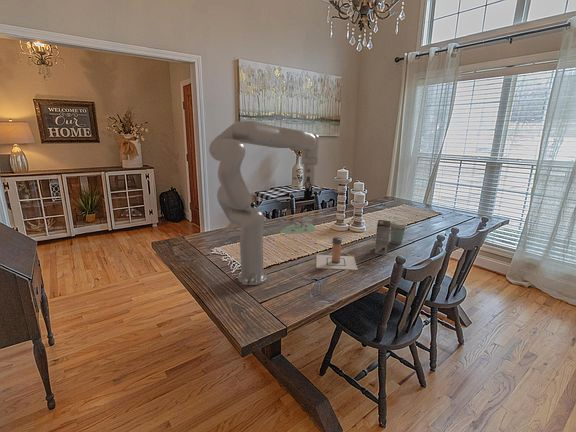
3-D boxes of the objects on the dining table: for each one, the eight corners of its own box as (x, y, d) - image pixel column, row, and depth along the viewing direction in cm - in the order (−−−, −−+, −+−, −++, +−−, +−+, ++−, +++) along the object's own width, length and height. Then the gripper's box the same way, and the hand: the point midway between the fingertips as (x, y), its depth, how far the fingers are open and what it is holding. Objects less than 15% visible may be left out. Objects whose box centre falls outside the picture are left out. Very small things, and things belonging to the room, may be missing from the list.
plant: (296, 238, 182) (297, 224, 180) (272, 230, 196) (272, 217, 193) (321, 229, 200) (322, 215, 197) (298, 222, 213) (298, 210, 211)
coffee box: (376, 247, 168) (378, 219, 163) (388, 249, 166) (391, 220, 161) (374, 253, 160) (376, 224, 155) (386, 255, 157) (390, 225, 153)
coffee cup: (390, 239, 181) (392, 219, 177) (405, 241, 176) (407, 222, 173) (386, 243, 174) (388, 223, 170) (402, 246, 169) (404, 226, 166)
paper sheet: (357, 270, 141) (357, 269, 140) (316, 268, 142) (316, 267, 142) (353, 257, 155) (353, 256, 155) (316, 255, 157) (316, 254, 157)
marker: (340, 263, 146) (341, 240, 143) (331, 263, 147) (332, 240, 143) (339, 260, 150) (341, 237, 147) (331, 259, 151) (332, 237, 147)
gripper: (316, 162, 132) (315, 201, 137) (318, 159, 149) (316, 194, 153) (299, 162, 133) (298, 200, 138) (303, 159, 150) (302, 193, 154)
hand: (308, 197), depth 146 cm, fingers open, 9 cm apart
